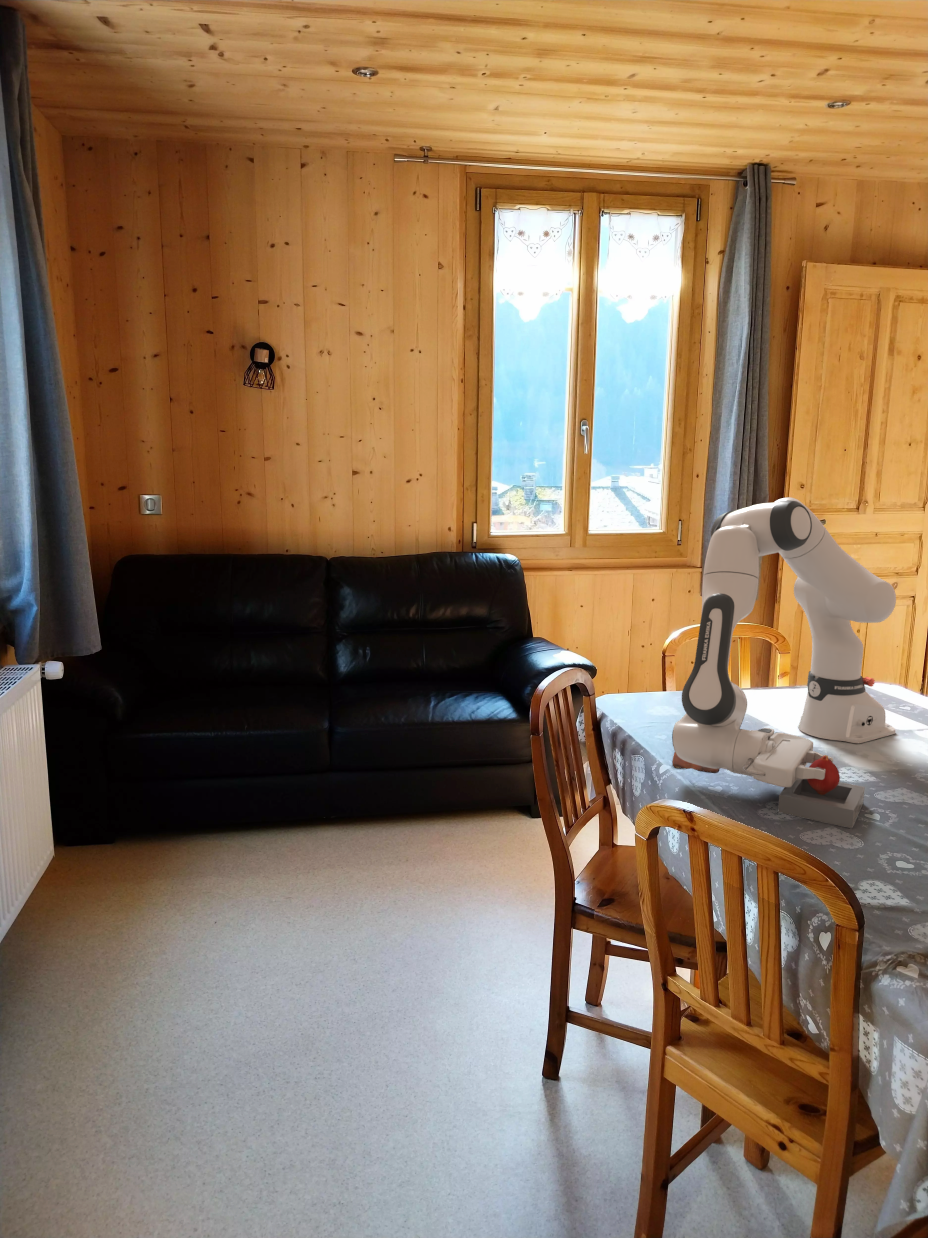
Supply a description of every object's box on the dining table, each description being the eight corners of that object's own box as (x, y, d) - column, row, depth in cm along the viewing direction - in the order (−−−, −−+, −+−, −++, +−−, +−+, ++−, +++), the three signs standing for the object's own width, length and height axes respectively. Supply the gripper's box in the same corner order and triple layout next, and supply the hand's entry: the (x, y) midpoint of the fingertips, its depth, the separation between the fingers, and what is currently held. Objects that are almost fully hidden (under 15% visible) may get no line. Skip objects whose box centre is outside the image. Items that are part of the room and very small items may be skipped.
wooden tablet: (719, 776, 185) (719, 769, 185) (670, 770, 188) (671, 763, 188) (723, 736, 210) (724, 729, 210) (680, 731, 213) (680, 724, 213)
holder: (777, 812, 166) (779, 795, 165) (793, 789, 177) (794, 773, 176) (851, 828, 159) (853, 810, 159) (863, 804, 170) (864, 787, 169)
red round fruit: (799, 789, 170) (803, 749, 169) (828, 788, 171) (832, 749, 169) (813, 801, 164) (817, 760, 163) (843, 800, 165) (847, 759, 163)
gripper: (741, 754, 164) (819, 769, 157) (768, 725, 181) (839, 737, 174) (738, 786, 165) (816, 803, 158) (765, 754, 182) (836, 768, 175)
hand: (828, 768), depth 166 cm, fingers closed on red round fruit, 6 cm apart
